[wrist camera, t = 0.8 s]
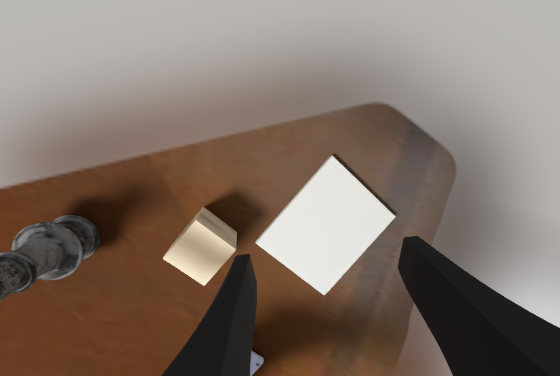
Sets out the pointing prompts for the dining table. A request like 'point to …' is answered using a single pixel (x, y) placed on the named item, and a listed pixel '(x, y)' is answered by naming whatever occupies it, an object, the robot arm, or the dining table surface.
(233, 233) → the birch block
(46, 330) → the dining table surface
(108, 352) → the dining table surface
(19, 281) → the grey stone chess piece
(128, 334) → the dining table surface
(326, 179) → the white mat
